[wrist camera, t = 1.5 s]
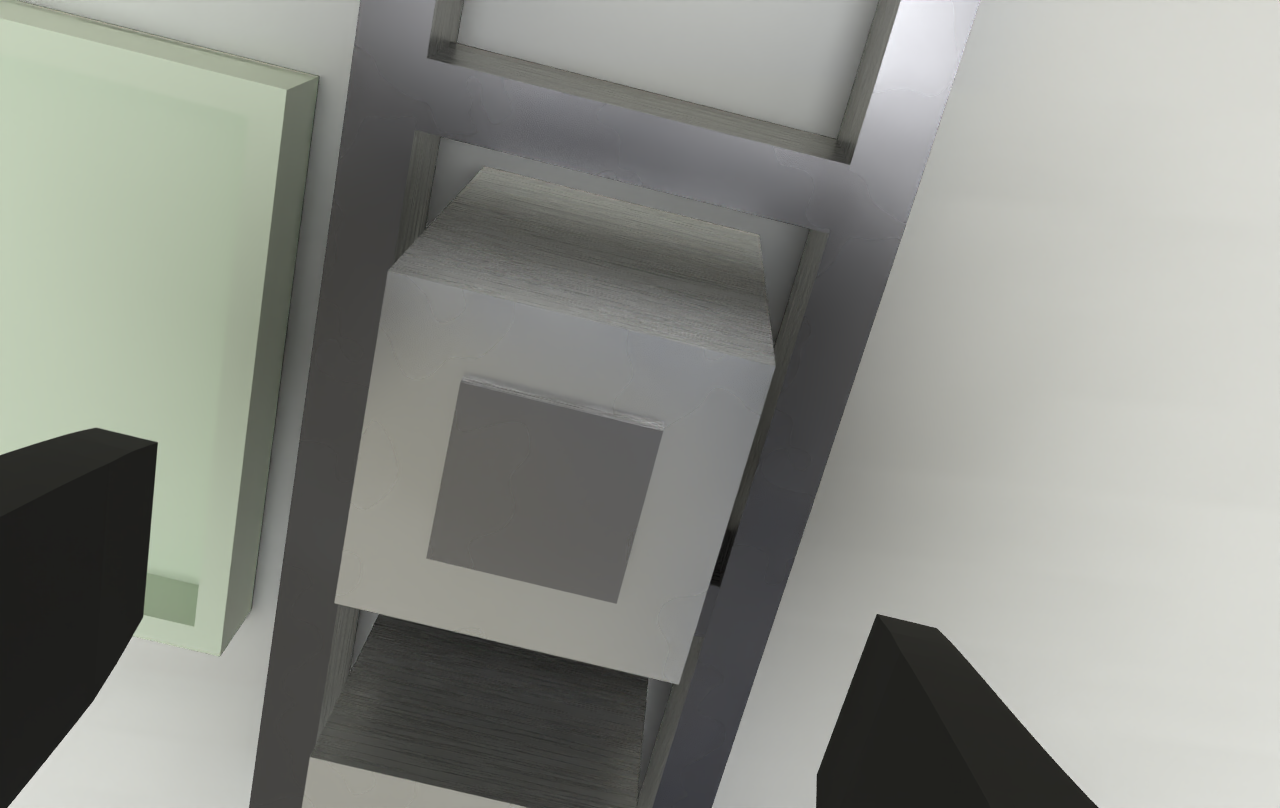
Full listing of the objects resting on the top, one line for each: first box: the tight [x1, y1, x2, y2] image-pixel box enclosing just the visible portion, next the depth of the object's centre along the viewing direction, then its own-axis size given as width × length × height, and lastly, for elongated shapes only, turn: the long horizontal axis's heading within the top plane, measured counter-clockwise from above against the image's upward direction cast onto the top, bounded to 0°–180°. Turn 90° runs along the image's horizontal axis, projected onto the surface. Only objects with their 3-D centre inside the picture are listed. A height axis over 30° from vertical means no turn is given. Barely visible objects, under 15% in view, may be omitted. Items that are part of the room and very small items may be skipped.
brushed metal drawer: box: [302, 614, 648, 808], centre depth 20 cm, size 4×4×6 cm
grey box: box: [334, 166, 776, 685], centre depth 17 cm, size 4×4×6 cm
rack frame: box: [249, 0, 981, 808], centre depth 19 cm, size 22×8×2 cm, turn 167°
